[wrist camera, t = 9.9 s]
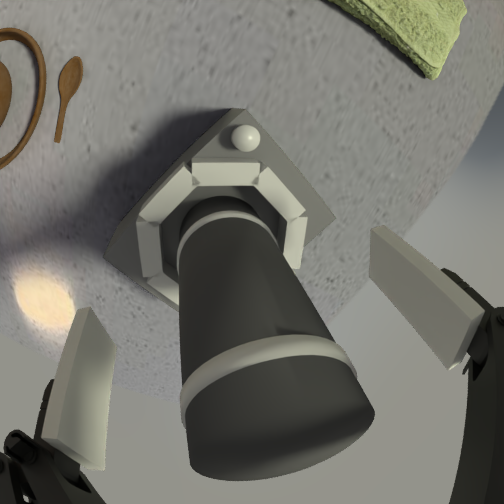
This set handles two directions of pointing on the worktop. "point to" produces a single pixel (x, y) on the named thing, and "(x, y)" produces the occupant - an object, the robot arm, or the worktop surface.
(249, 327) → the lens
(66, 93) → the place setting
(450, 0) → the washcloth
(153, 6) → the worktop surface
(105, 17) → the worktop surface
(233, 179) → the block with octagonal ring
